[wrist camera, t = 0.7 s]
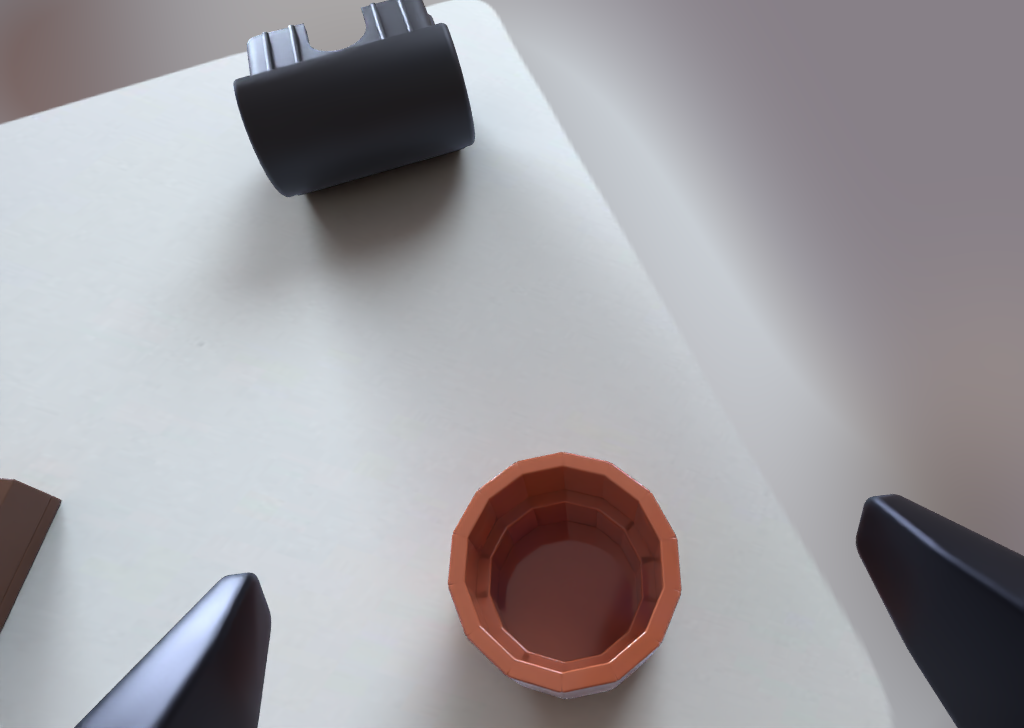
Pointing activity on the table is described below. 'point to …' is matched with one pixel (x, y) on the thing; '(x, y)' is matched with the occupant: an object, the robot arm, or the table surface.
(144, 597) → the table surface
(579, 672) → the terracotta flower pot
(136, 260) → the table surface
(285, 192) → the end cap
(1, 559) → the tray
